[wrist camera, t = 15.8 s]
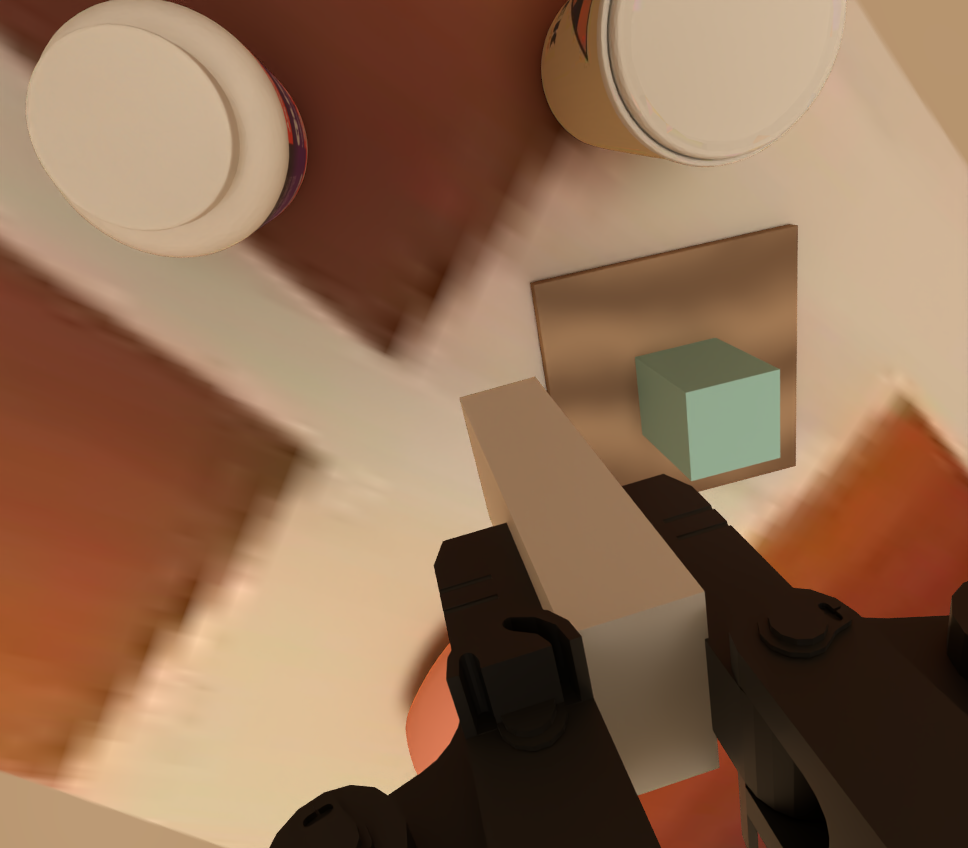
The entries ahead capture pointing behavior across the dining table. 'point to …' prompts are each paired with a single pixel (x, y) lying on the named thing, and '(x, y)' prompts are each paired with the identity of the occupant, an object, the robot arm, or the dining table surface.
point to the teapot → (431, 716)
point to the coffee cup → (688, 73)
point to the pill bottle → (164, 128)
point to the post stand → (667, 338)
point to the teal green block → (709, 407)
